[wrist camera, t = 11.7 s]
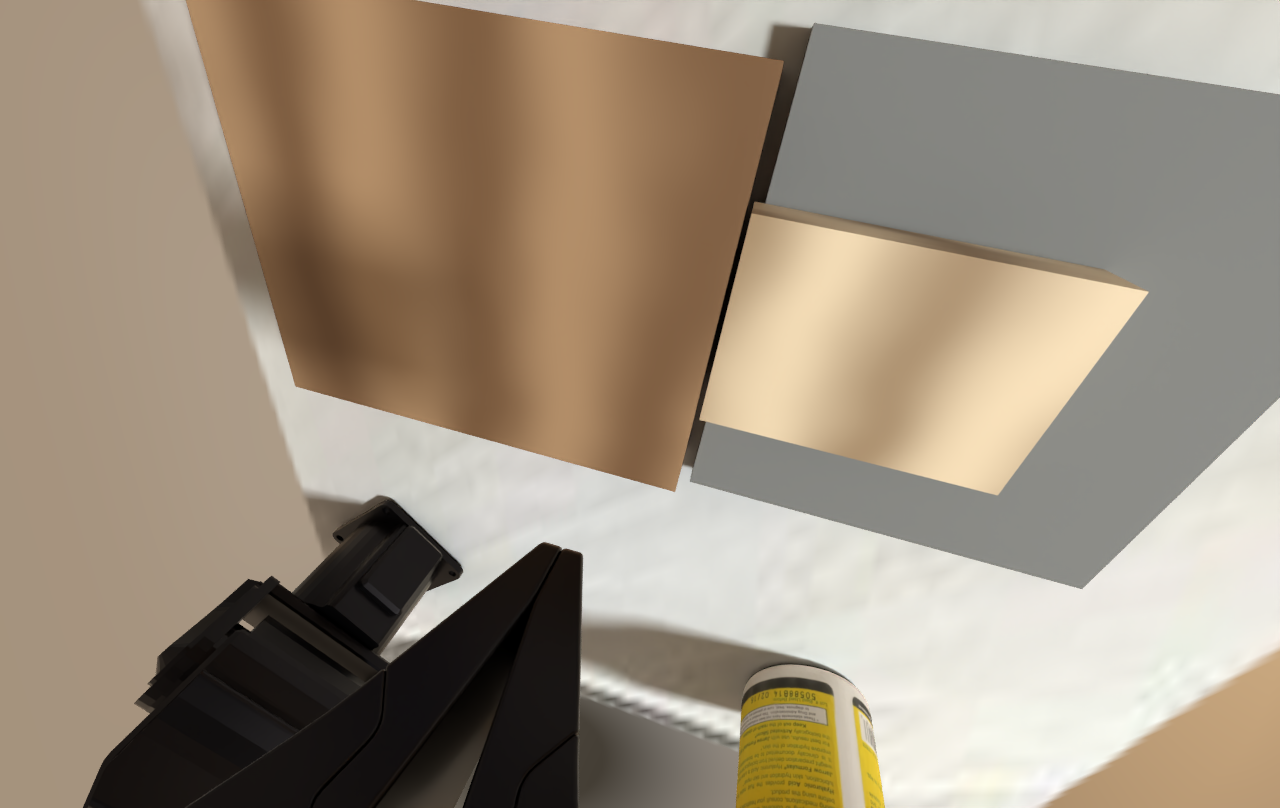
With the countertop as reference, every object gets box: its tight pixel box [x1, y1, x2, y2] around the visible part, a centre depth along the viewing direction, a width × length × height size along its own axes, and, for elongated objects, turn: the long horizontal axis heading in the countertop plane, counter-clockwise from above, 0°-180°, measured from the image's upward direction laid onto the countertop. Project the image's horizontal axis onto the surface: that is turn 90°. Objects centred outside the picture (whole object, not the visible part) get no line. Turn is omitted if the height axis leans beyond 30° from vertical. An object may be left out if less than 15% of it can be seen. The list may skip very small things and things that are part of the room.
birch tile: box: [699, 202, 1149, 495], centre depth 16 cm, size 10×7×2 cm
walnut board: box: [186, 0, 784, 492], centre depth 18 cm, size 17×14×3 cm
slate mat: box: [690, 23, 1280, 589], centre depth 16 cm, size 16×16×1 cm
